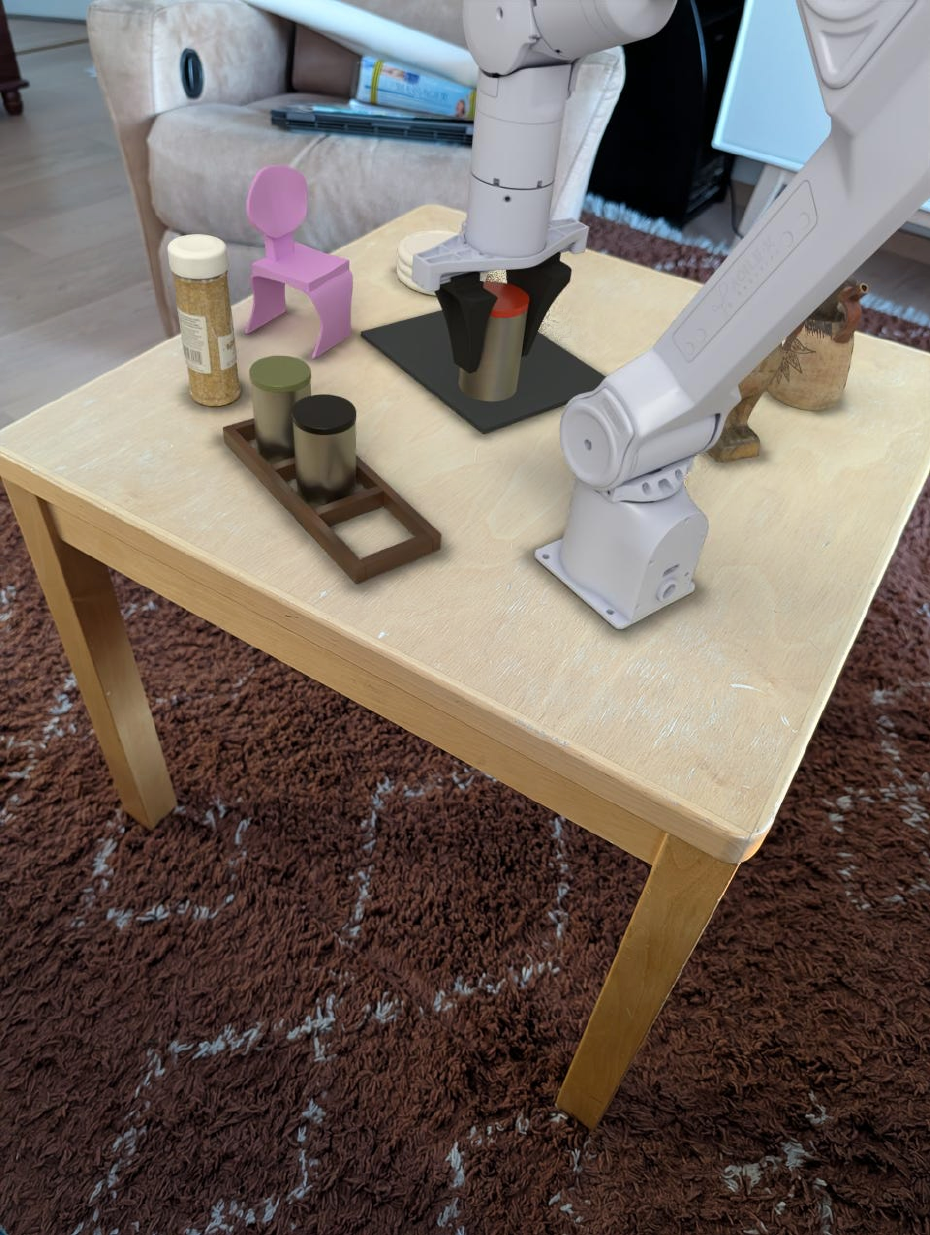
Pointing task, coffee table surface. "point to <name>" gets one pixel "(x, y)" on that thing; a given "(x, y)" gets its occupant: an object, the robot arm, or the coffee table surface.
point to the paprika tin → (499, 346)
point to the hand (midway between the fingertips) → (491, 358)
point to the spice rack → (339, 509)
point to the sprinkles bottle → (205, 317)
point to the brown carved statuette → (746, 412)
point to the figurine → (820, 351)
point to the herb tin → (277, 403)
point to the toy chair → (294, 259)
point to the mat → (429, 361)
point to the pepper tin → (324, 448)
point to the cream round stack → (416, 245)
